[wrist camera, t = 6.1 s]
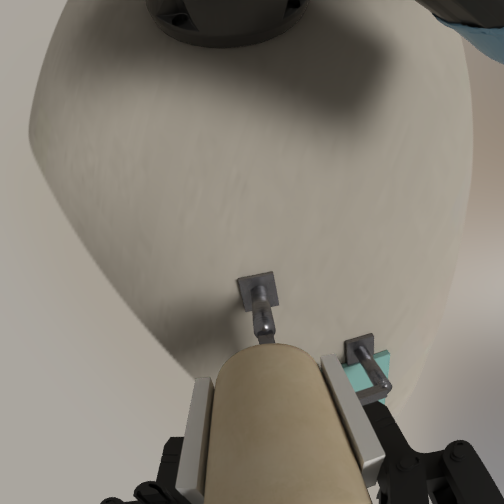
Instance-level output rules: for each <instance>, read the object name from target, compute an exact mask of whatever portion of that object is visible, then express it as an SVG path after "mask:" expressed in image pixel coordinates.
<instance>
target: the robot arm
mask: <svg viewBox="0 0 504 504" xmlns="http://www.w3.org/2000/svg"><path fill="white" fill-rule="evenodd" d="M415 1H416V2H418V3H419V4H421V5H422V6H424V7H425V8H426V9H428V10H429V11H431V13H432V14H433V15H434V16H435V17H436V19H437V20H438V21H439V22H441V23H442V24H444V25H445V26H447V27H450V28H452V29H454V30H455V31H456V32H458V33H459V34H460V35H461V36H463V37H464V38H465V39H466V40H468V41H469V42H470V43H471V44H472V45H474V46H475V47H476V48H477V49H478V50H479V51H481V52H482V53H483V54H485V55H486V56H488V57H489V58H491V59H493V60H495V61H498V62H499V63H501V64H504V0H415ZM308 2H309V0H146V4H147V8H148V10H149V12H150V14H151V15H152V17H153V19H154V21H155V22H156V24H157V25H158V26H159V27H160V29H161V30H163V31H164V32H165V33H166V34H168V35H169V36H171V37H173V38H175V39H177V40H179V41H182V42H185V43H188V44H192V45H197V46H203V47H213V48H229V47H240V46H246V45H251V44H256V43H259V42H263V41H266V40H269V39H271V38H274V37H276V36H278V35H280V34H282V33H283V32H285V31H287V30H288V29H289V28H291V27H292V26H293V25H294V24H296V22H297V21H298V20H299V19H300V18H301V17H302V15H303V13H304V11H305V9H306V7H307V4H308ZM320 358H321V370H322V374H323V376H324V379H325V381H326V384H327V386H328V389H329V391H330V394H331V396H332V399H333V401H334V404H335V406H336V409H337V411H338V414H339V416H340V419H341V421H342V424H343V427H344V429H345V432H346V434H347V437H348V440H349V442H350V445H351V447H352V450H353V453H354V455H355V458H356V460H357V463H358V466H359V468H360V471H361V474H362V476H363V479H364V482H365V484H366V487H367V488H368V487H371V486H374V485H375V484H376V482H377V481H378V484H379V486H380V489H379V492H378V494H377V499H379V504H429V498H428V495H429V497H430V499H431V501H432V503H433V504H504V498H503V496H502V495H501V493H500V491H499V489H498V487H497V486H496V484H495V482H494V481H493V479H492V477H491V476H490V474H489V472H488V471H487V469H486V467H485V466H484V464H483V462H482V461H481V459H480V458H479V456H478V454H477V453H476V451H475V450H474V448H473V447H472V445H470V443H468V442H467V441H464V440H457V441H454V442H451V443H450V444H449V445H447V447H446V448H445V450H441V451H437V452H431V453H419V452H416V451H414V450H413V449H412V448H411V447H410V446H409V445H408V443H407V441H406V439H405V437H404V436H403V434H402V432H401V430H400V429H399V427H398V425H397V423H395V420H394V418H393V416H392V415H391V413H390V411H389V410H388V408H387V406H385V405H384V404H382V403H381V402H379V401H375V402H372V403H369V404H366V405H363V406H362V405H361V403H360V401H359V399H358V397H357V395H356V393H355V391H354V389H353V387H352V385H351V383H350V381H349V379H348V377H347V375H346V373H345V372H344V370H343V368H342V366H341V364H340V362H339V360H338V358H337V356H336V354H335V353H334V354H330V355H326V356H322V357H320ZM214 392H215V389H214V386H213V383H212V381H211V378H210V377H205V378H196V380H195V385H194V390H193V395H192V400H191V405H190V410H189V415H188V420H187V425H186V431H185V436H184V437H170V439H169V440H168V441H167V443H166V444H165V445H164V449H163V454H162V455H163V456H162V458H161V463H160V466H159V471H158V475H157V479H156V482H155V481H147V482H143V483H141V484H140V485H139V486H137V487H136V489H135V490H134V495H133V496H134V497H135V498H136V499H137V500H138V501H130V502H123V501H122V500H121V499H118V498H116V497H109V498H107V499H104V500H103V501H102V502H101V503H100V504H204V493H205V481H206V470H207V459H208V449H209V438H210V428H211V418H212V409H213V399H214Z"/></svg>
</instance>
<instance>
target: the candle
mask: <svg viewBox="0 0 504 504" xmlns="http://www.w3.org/2000/svg"><path fill="white" fill-rule="evenodd" d="M204 504H372V501H371V498H370V495H369V493H368V490H367V487H366V484H365V482H364V479H363V476H362V474H361V471H360V468H359V466H358V463H357V460H356V458H355V455H354V453H353V450H352V447H351V445H350V442H349V440H348V437H347V434H346V432H345V429H344V427H343V424H342V421H341V419H340V416H339V414H338V411H337V409H336V406H335V404H334V401H333V399H332V396H331V394H330V391H329V389H328V386H327V384H326V381H325V379H324V376H323V374H322V372H321V370H320V368H319V366H318V364H317V363H316V362H315V360H314V359H313V358H312V357H311V356H310V355H309V354H308V353H306V352H305V351H303V350H301V349H299V348H297V347H294V346H291V345H286V344H279V343H269V344H261V345H255V346H252V347H249V348H246V349H244V350H242V351H240V352H238V353H236V354H235V355H233V356H232V357H231V358H230V359H229V360H227V361H226V362H225V364H224V365H223V366H222V368H221V370H220V371H219V374H218V377H217V379H216V385H215V392H214V399H213V409H212V418H211V428H210V438H209V449H208V459H207V470H206V481H205V493H204Z"/></svg>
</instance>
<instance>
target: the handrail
mask: <svg viewBox="0 0 504 504" xmlns="http://www.w3.org/2000/svg"><path fill="white" fill-rule="evenodd" d="M238 282H239V286H240V290H241V295H242V299H243V303H244V307H245V311H246V312H248V311H252V313H253V326H254V334H255V336H256V337H257V338H258V341H259V345H261V344H269V343H275V340H274V334H275V331H276V330H275V325H274V320H273V316H272V311H271V307H273V306H278V305H279V301H278V296H277V291H276V285H275V280H274V275H273V271H272V272H267V273H262V274H257V275H252V276H247V277H242V278H238ZM345 345H346V364H347V366H350V365H353V364H357V363H360V364H361V366H362V367H363V369H364V371H365V372H366V374H367V376H368V377H369V379H370V381H371V383H372V384H373V386H372V387H369V388H366V389H363V390H360V391H357V392H355V393H356V395H357V397H358V399H359V401H360V403H361V405H362V406H363V405H366V404H369V403H372V402H375V401H378V400H381V399H383V398H386V397H387V394H388V393H389V392H390V391H391V389H392V385H391V383H390V382H389V380H388V379H387V377H386V376H385V374H384V373H383V371H382V370H381V368H380V367H379V365H378V364H377V362H376V361H375V359H374V358H373V354H374V335H373V334H372V333H370V334H367V335H364V336H360V337H357V338H354V339H350V340H347V341H345Z"/></svg>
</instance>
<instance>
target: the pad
mask: <svg viewBox="0 0 504 504" xmlns="http://www.w3.org/2000/svg"><path fill="white" fill-rule="evenodd" d="M373 358H374V359H375V361H376V362H377V364H378V365H379V367H380V368H381V370H382V371H383V373H384V374H385V376H386V377H387V379H388V372H389V361H390V353H389V352H388V350H386V351H383V352H380V353H377V354H374V355H373ZM341 366H342V368H343V370H344V372H345V373H346V375H347V377H348V379H349V381H350V383H351V385H352V387H353V389H354V391H355V392H357V391H360V390H363V389H366V388H369V387H372V386H373V384H372V383H371V381H370V379H369V377H368V376H367V374H366V372H365V371H364V369H363V367H362V366H361V364H360V363H357V364H353V365H350V366H347V364H346V363H344V364H341ZM321 372H322V370H321ZM378 401H379V402H381V403H382V404H385V398H383V399H381V400H378Z"/></svg>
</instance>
